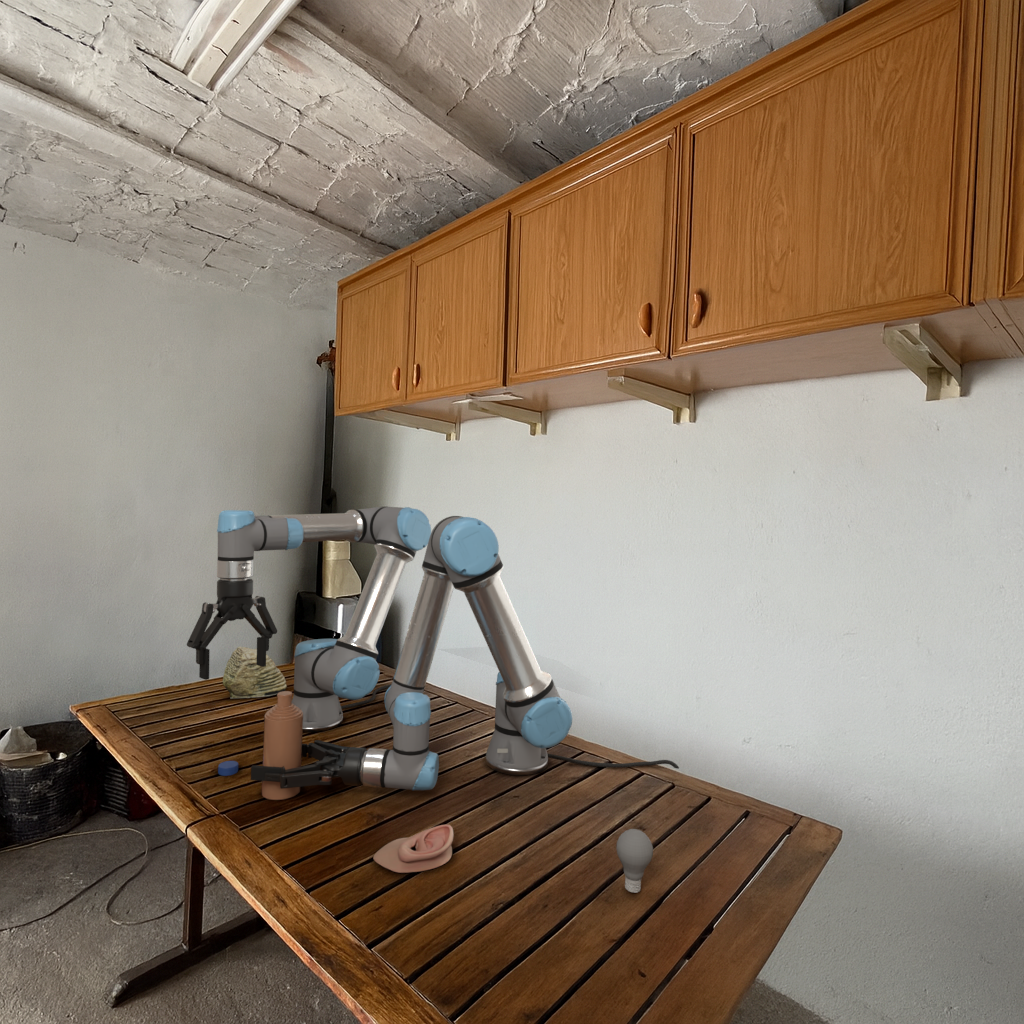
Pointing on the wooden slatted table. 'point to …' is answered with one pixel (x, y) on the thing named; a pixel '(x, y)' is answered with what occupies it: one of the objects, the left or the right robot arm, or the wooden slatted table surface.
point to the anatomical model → (417, 851)
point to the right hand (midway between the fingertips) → (265, 760)
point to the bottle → (282, 743)
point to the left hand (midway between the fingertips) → (233, 671)
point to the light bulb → (634, 857)
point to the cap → (228, 768)
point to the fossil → (252, 675)
